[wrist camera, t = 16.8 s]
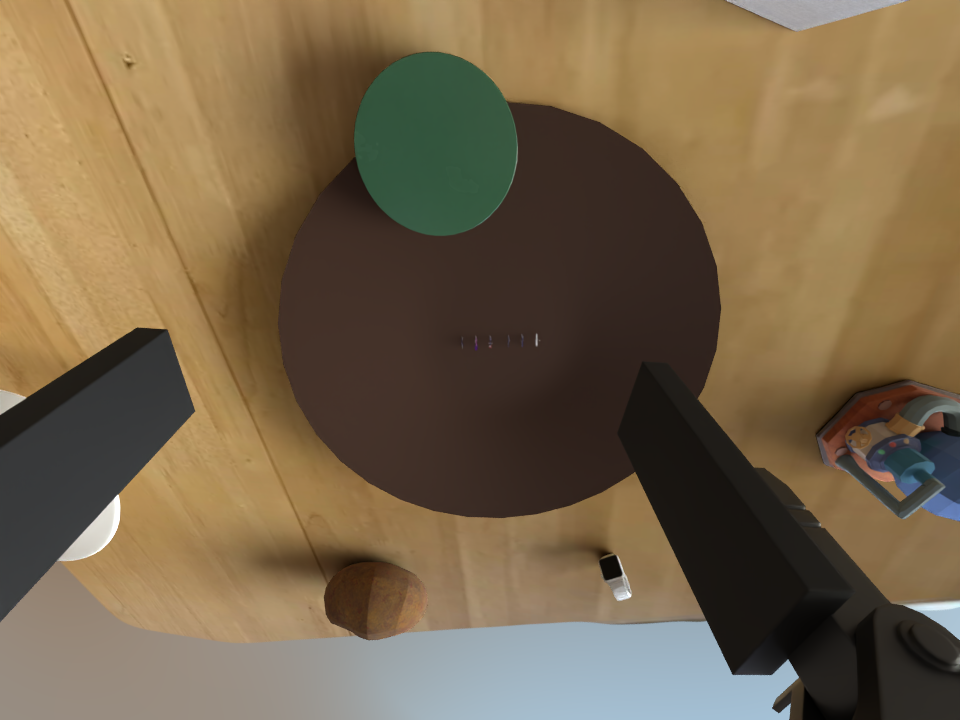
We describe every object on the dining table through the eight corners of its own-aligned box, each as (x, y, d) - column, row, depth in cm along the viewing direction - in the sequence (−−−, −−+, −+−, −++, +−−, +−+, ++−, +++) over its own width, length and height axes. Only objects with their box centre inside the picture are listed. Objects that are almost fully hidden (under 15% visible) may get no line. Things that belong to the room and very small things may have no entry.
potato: (328, 547, 39) (306, 614, 34) (430, 548, 40) (424, 615, 34) (336, 586, 42) (317, 654, 37) (430, 587, 43) (425, 654, 37)
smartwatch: (624, 564, 42) (638, 604, 38) (604, 570, 42) (616, 610, 39) (614, 544, 40) (627, 584, 37) (593, 551, 40) (605, 591, 37)
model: (995, 406, 32) (1169, 499, 24) (902, 484, 37) (1023, 585, 29) (879, 368, 30) (1027, 457, 22) (795, 456, 34) (893, 556, 26)
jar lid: (411, 252, 24) (407, 261, 23) (329, 111, 21) (318, 110, 19) (536, 188, 23) (542, 193, 21) (472, 21, 19) (473, 12, 17)
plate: (764, 94, 21) (817, 88, 18) (658, 476, 35) (677, 511, 32) (227, 109, 21) (185, 106, 18) (337, 488, 35) (325, 524, 32)
